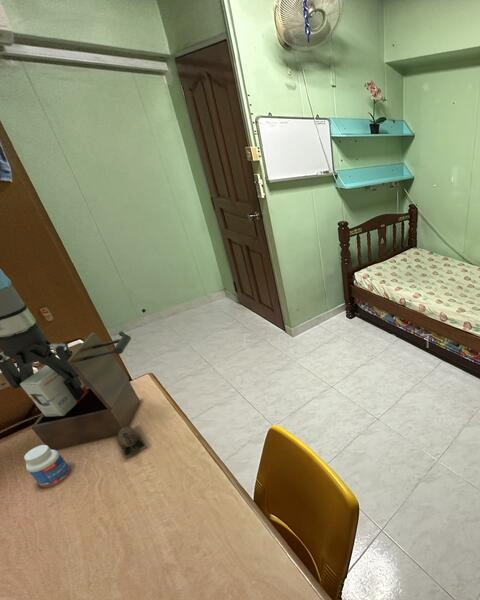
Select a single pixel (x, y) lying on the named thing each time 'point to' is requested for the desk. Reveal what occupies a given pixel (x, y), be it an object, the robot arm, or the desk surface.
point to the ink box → (50, 392)
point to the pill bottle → (46, 465)
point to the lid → (101, 367)
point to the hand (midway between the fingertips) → (64, 399)
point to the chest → (87, 420)
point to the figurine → (130, 441)
